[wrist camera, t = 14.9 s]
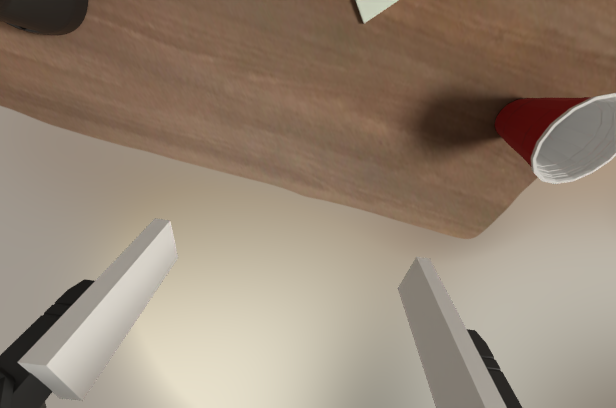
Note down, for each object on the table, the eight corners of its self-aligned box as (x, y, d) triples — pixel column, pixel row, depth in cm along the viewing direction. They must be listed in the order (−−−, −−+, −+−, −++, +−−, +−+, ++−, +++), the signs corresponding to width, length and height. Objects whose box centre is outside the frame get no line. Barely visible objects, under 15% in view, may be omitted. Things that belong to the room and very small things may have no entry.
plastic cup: (531, 152, 40) (601, 187, 30) (467, 149, 40) (515, 183, 31) (573, 80, 34) (677, 95, 24) (497, 78, 34) (569, 91, 24)
